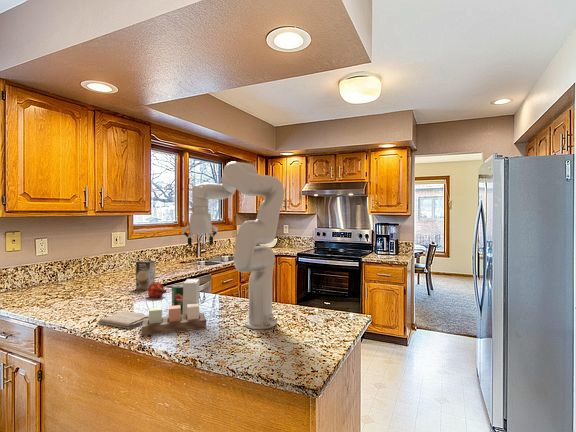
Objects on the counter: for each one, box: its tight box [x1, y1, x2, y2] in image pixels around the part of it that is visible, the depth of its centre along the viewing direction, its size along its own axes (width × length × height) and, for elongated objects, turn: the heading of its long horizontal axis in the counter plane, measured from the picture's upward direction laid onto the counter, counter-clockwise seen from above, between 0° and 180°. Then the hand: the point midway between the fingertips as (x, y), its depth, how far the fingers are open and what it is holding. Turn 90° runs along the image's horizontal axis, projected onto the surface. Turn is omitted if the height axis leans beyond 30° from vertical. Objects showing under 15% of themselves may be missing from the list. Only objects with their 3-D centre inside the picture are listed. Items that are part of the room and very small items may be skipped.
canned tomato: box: [171, 283, 183, 312], centre depth 155 cm, size 8×8×11 cm
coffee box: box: [135, 259, 156, 290], centre depth 197 cm, size 9×6×16 cm
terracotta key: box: [168, 305, 182, 322], centre depth 129 cm, size 4×4×5 cm
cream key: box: [187, 303, 200, 320], centre depth 132 cm, size 4×4×5 cm
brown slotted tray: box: [141, 312, 207, 336], centre depth 129 cm, size 23×10×3 cm, turn 110°
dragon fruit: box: [146, 281, 167, 299], centre depth 176 cm, size 8×8×12 cm
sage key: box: [148, 306, 163, 324], centre depth 127 cm, size 4×4×5 cm
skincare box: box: [182, 278, 200, 315], centre depth 147 cm, size 8×6×15 cm
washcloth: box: [98, 310, 149, 330], centre depth 136 cm, size 12×18×3 cm, turn 69°
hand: (200, 245), depth 159 cm, fingers open, 9 cm apart
